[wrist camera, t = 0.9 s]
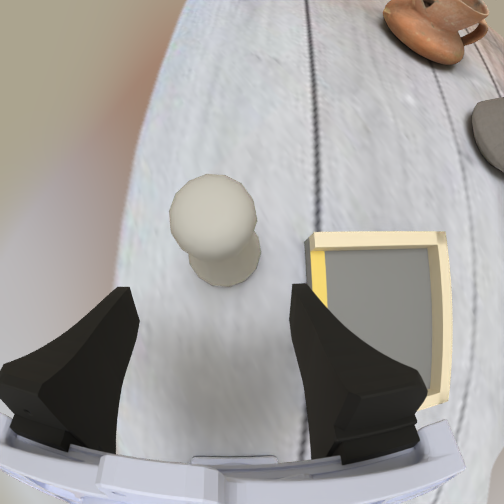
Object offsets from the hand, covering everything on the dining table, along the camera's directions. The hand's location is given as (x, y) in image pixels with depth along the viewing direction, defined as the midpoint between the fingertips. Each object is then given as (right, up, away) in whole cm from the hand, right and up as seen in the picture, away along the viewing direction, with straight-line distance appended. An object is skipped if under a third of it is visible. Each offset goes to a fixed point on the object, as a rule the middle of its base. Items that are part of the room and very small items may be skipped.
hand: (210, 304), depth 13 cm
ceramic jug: (+29, +36, +20) cm, 51 cm away
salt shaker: (0, +2, +14) cm, 14 cm away
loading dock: (+13, -4, +13) cm, 19 cm away
